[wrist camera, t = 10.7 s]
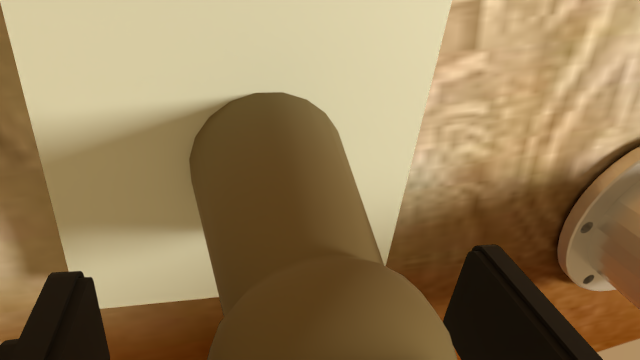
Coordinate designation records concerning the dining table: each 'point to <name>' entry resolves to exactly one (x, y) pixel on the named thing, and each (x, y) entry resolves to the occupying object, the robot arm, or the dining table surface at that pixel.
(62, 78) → the cream block
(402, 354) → the cork
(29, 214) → the dining table surface
